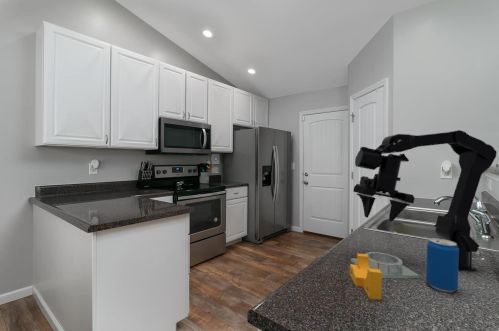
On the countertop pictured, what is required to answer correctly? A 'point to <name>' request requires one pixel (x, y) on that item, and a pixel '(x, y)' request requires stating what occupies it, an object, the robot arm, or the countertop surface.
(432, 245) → the beverage can
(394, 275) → the duct collar
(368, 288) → the pipe clamp
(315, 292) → the countertop surface
